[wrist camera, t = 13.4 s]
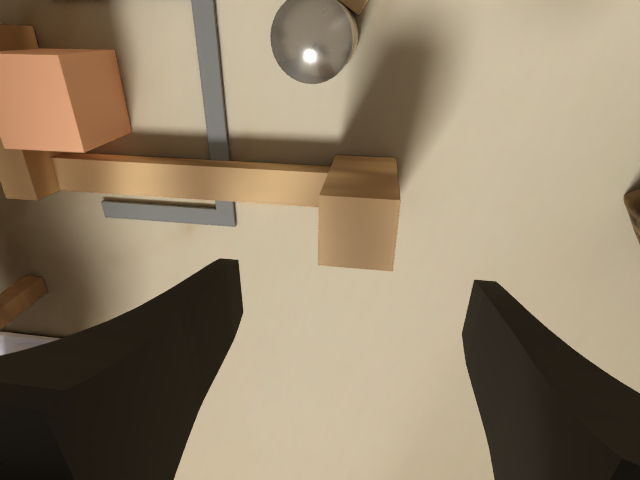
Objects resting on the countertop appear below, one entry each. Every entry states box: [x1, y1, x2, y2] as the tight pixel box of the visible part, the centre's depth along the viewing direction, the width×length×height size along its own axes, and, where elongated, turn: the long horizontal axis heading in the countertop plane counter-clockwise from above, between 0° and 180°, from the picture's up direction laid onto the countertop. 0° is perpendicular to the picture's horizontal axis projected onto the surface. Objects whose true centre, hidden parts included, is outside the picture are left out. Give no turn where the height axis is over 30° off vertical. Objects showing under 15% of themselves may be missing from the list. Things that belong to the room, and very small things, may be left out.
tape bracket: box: [101, 0, 236, 227], centre depth 21 cm, size 12×8×1 cm, turn 0°
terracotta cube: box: [0, 48, 132, 153], centre depth 19 cm, size 4×4×4 cm
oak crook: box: [0, 25, 401, 271], centre depth 18 cm, size 20×9×6 cm, turn 90°
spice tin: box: [271, 0, 358, 84], centre depth 16 cm, size 3×3×4 cm
